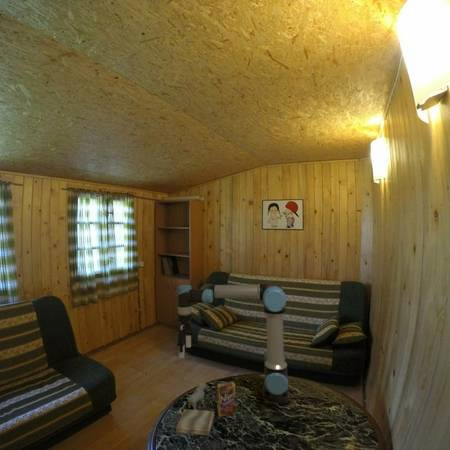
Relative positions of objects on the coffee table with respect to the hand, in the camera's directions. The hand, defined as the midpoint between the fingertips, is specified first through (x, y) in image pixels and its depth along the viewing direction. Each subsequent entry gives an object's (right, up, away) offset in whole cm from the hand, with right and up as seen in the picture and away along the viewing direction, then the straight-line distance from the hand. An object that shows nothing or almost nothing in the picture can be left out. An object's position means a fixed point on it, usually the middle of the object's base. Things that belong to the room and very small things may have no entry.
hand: (185, 352), depth 151 cm
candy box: (+23, -28, -10) cm, 37 cm away
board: (+8, -27, -17) cm, 33 cm away
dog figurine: (+7, -28, -2) cm, 29 cm away
